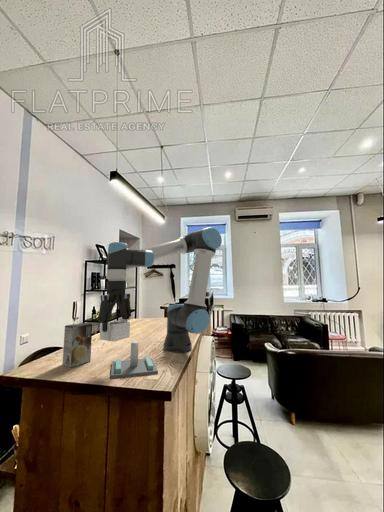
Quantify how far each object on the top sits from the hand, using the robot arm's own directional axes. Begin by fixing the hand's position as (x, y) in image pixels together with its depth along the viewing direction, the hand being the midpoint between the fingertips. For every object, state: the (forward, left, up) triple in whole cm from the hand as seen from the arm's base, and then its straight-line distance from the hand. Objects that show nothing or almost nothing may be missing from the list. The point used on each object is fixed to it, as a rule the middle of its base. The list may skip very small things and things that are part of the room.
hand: (115, 337), depth 92 cm
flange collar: (0, 0, 0) cm, 0 cm away
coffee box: (+15, -13, -13) cm, 24 cm away
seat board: (-8, 0, -12) cm, 15 cm away
